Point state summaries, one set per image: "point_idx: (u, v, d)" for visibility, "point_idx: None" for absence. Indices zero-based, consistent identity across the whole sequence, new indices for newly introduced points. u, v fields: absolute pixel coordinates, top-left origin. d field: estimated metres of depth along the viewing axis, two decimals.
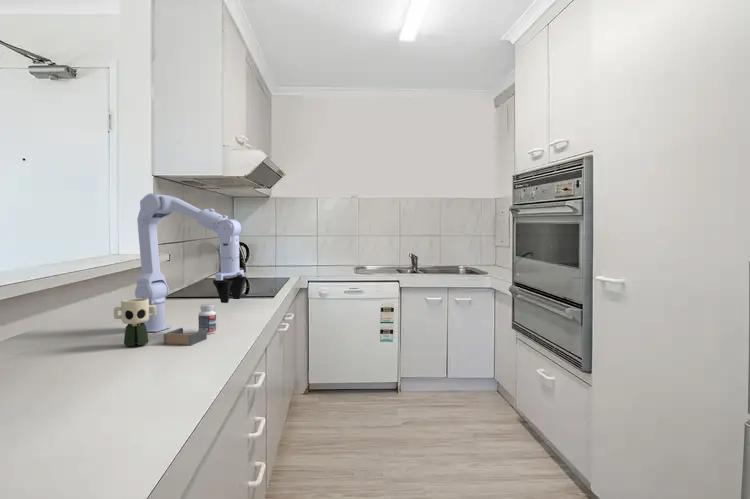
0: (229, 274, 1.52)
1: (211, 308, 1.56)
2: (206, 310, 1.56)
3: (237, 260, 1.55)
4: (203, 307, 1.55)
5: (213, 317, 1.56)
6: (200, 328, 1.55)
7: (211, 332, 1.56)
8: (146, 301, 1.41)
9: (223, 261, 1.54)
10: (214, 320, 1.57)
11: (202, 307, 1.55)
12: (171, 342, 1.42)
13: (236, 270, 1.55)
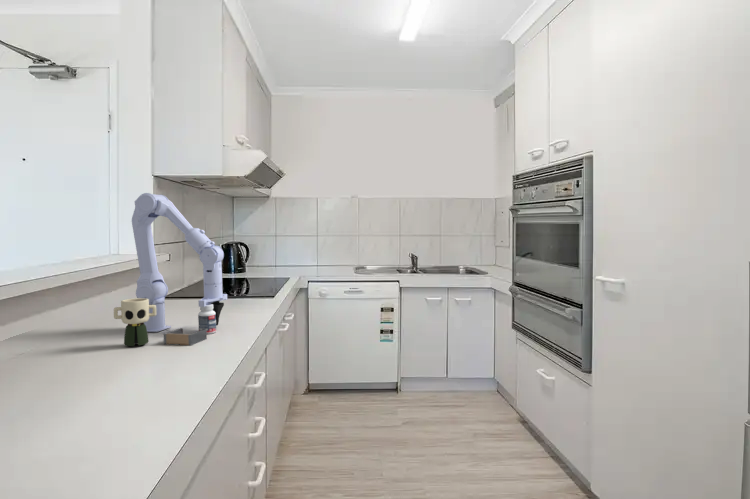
0: (212, 300, 1.57)
1: (210, 308, 1.56)
2: (206, 310, 1.55)
3: (220, 286, 1.60)
4: (202, 307, 1.55)
5: (213, 317, 1.56)
6: (200, 328, 1.55)
7: (211, 332, 1.56)
8: (146, 301, 1.41)
9: (206, 287, 1.58)
10: (214, 320, 1.56)
11: (201, 307, 1.55)
12: (171, 342, 1.42)
13: (219, 295, 1.59)
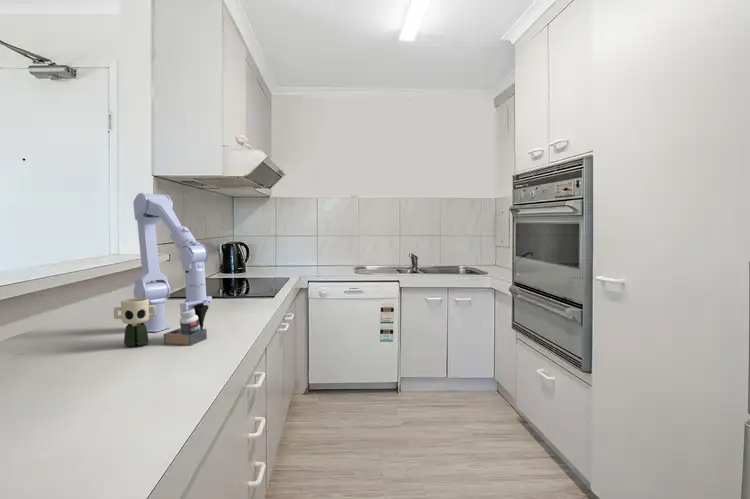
0: (195, 302, 1.46)
1: (191, 314, 1.45)
2: (186, 317, 1.45)
3: (203, 287, 1.49)
4: (182, 314, 1.45)
5: (194, 324, 1.46)
6: None
7: None
8: (146, 301, 1.41)
9: (188, 289, 1.48)
10: (196, 326, 1.46)
11: (181, 314, 1.45)
12: (171, 342, 1.42)
13: (202, 298, 1.49)
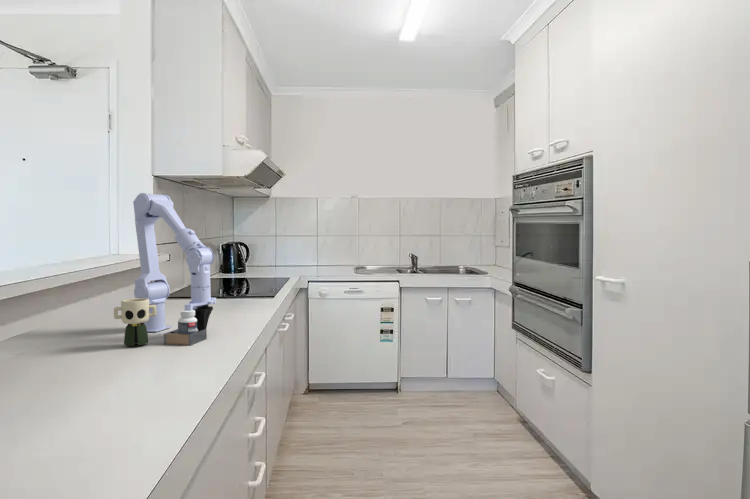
0: (199, 304, 1.50)
1: (191, 314, 1.45)
2: (186, 316, 1.44)
3: (208, 289, 1.53)
4: (183, 313, 1.44)
5: (193, 325, 1.45)
6: None
7: None
8: (146, 301, 1.41)
9: (193, 290, 1.51)
10: (194, 328, 1.45)
11: (182, 313, 1.44)
12: (171, 342, 1.42)
13: (207, 299, 1.52)
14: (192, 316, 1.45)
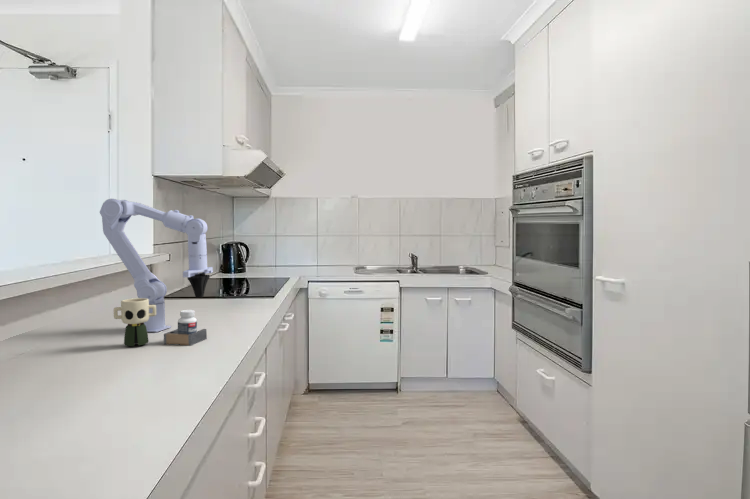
0: (196, 271, 1.59)
1: (191, 315, 1.45)
2: (186, 317, 1.44)
3: (204, 258, 1.62)
4: (183, 313, 1.44)
5: (193, 325, 1.45)
6: None
7: None
8: (146, 301, 1.41)
9: (191, 259, 1.60)
10: (194, 328, 1.45)
11: (182, 313, 1.44)
12: (171, 342, 1.42)
13: (204, 267, 1.61)
14: (192, 316, 1.45)
